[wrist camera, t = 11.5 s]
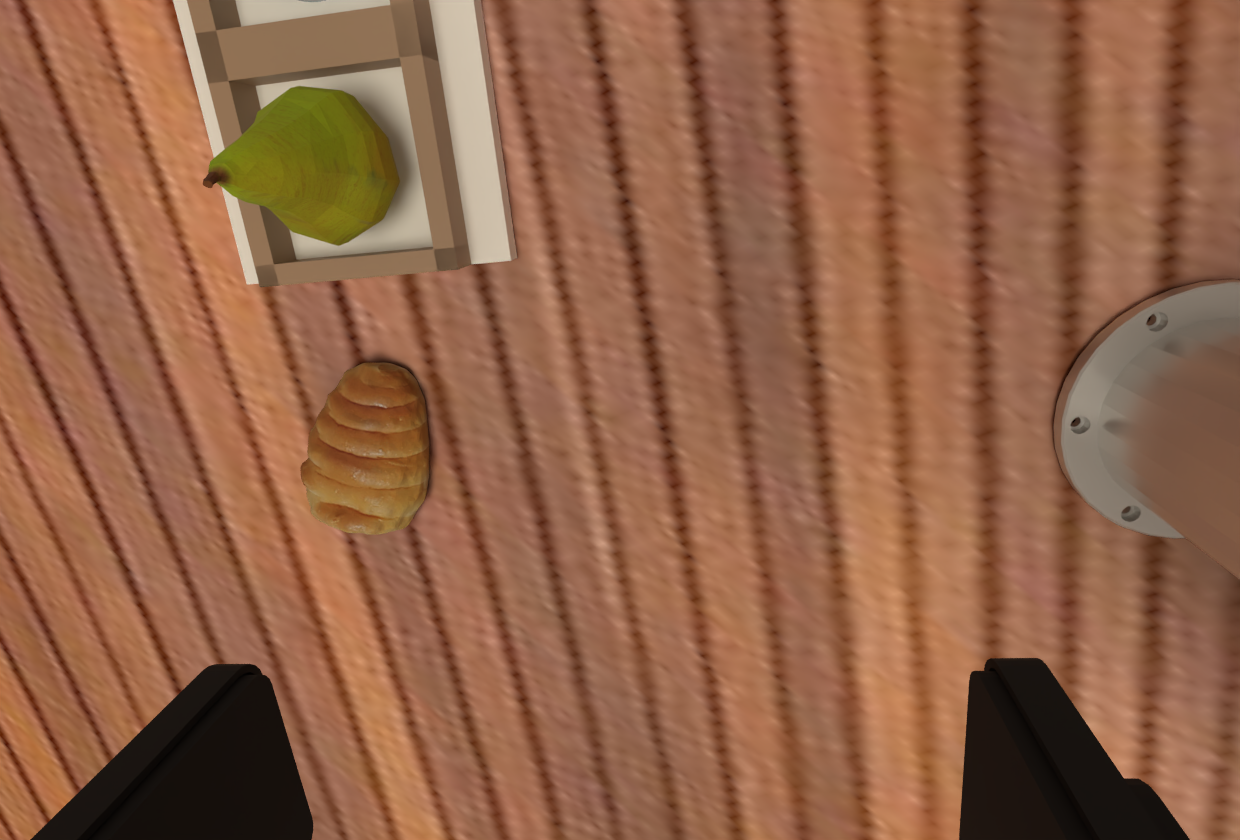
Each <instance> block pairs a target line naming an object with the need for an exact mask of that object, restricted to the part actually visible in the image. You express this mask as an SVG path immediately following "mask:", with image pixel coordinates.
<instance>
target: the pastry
mask: <svg viewBox="0 0 1240 840" xmlns="http://www.w3.org/2000/svg"><path fill="white" fill-rule="evenodd" d="M307 452H308V456H309V458H308V459H307V460H306V461H305V462H304V463H303V464H302V465H301V479H302V482H303V484H304V485H305V486H306V487H307V488H306V490H307V498H308V501H309V504H310V506H311V513H312V515H314V517H315V518H316V519H317V520H319V521H321V522H323V523H325V524H327V525H328V526H331V527H333V528H336V529H339V530H342V531H345V532H347V533H365V534H368V535H372V534H384V533H388V532H391V531H395V530H400V529H404V528H405V527H406V526H408V525H409V524H410V522H411V520H412V518H413V517H414V515H415V513H416V511H417V510H418V508H419V507H420V506H421V504H422V503H423V502H424V500H425V497H426V494H427V486H428V480H429V475H430V473H429V437H428V426H427V415H426V405H425V399H424V397H423V394H422V392H421V390H420V388H419V385H418V382H417V380H416V379H415V377H414V376H413V375H412V374H411V373H410V372H409V371H408V370H406V369H405V368H402V367H399V366H397V365H394V364H391V363H385V362H384V363H370V362H366V363H362V364H360V365H358V366H356V367H354V368H352V369H349V370H347V371H346V372H345V373H344V375H343V377H342V379H341V380H340V382H339V384H338V386H337V387H336V388H335V390H333V391H332V392H331V393H330V394H329V395H328V399H327V401H326V404H325V407H324V408H323V409H322V411H321V412H320V414H319V415H318V417H317V420H316V424H315V426H314V427H313V428H312V429H311V432H310V433H309V440H308V451H307Z"/></svg>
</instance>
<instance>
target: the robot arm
mask: <svg viewBox="0 0 1240 840" xmlns="http://www.w3.org/2000/svg"><path fill="white" fill-rule="evenodd" d="M1150 316H1151V319H1150V321H1149V322H1147V320H1148V318H1149V317H1150ZM1146 322H1147V323H1146ZM1075 418H1076V421H1075V422H1074V423H1071V422H1072V421H1073V420H1074V419H1075ZM1053 428H1054V442H1055V450H1056V453H1057V457H1058V460H1059V463H1060V466H1061V469H1062V471H1063V473H1064V474H1065V476H1066V478H1067V480H1068V481H1069V483H1070V485H1071V486H1072V488H1073V489H1074V490H1075V491H1076V492H1077V493H1078V494H1079V495H1080V496H1081V497H1082V498H1083V499H1084V500H1085V502H1086V503H1087V504H1089V505H1090V506H1091V507H1092V508H1094V509H1095V510H1096V511H1097V512H1099V513H1100V514H1101V515H1102V516H1103V517H1105V518H1107V519H1108V520H1110V521H1112V522H1114V523H1115V524H1117V525H1119V526H1121V527H1123V528H1126V529H1129V530H1132V531H1136V532H1139V533H1142V534H1145V535H1149V536H1156V537H1164V538H1172V539H1181V538H1186V539H1188V540H1189V541H1190V542H1191V543H1193V544H1194V545H1195V546H1197V547H1198V548H1199V549H1201V550H1202V551H1203V552H1204V553H1206V554H1207V555H1208V556H1210V557H1211V558H1212V559H1213V560H1215V561H1216V562H1217V563H1219V564H1220V565H1221V566H1223V567H1224V568H1225V569H1226V570H1228V571H1229V572H1230V573H1232V574H1233V575H1234V576H1236V577H1237V578H1238V579H1239V580H1240V280H1234V279H1229V280H1216V281H1202V282H1198V283H1194V284H1190V285H1186V286H1182V287H1178V288H1174V289H1171V290H1169V291H1166V292H1164V293H1161V294H1159V295H1157V296H1154V297H1152V298H1149V299H1147V300H1145V301H1143V302H1142V303H1140V304H1138V305H1137V306H1135V307H1133V308H1132V309H1130V310H1128V311H1127V312H1125V313H1124V314H1122V315H1120V316H1119V317H1118V318H1116V319H1115V320H1114V321H1113V322H1112V323H1111V324H1109V325H1108V326H1107V327H1106V328H1105V329H1104V330H1102V331H1101V332H1100V333H1099V334H1098V335H1097V336H1096V337H1095V338H1094V339H1093V340H1092V342H1091V343H1090V344H1089V345H1088V346H1087V347H1086V349H1085V350H1084V351H1083V352H1082V353H1081V354H1080V356H1079V357H1078V359H1077V360H1076V362H1075V364H1074V365H1073V367H1072V369H1071V371H1070V372H1069V374H1068V376H1067V377H1066V379H1065V382H1064V384H1063V387H1062V390H1061V393H1060V395H1059V398H1058V401H1057V405H1056V412H1055V418H1054V425H1053ZM312 834H313V820H312V816H311V812H310V809H309V806H308V802H307V799H306V796H305V792H304V789H303V786H302V782H301V779H300V776H299V773H298V769H297V766H296V763H295V759H294V756H293V753H292V749H291V746H290V743H289V739H288V736H287V733H286V729H285V726H284V723H283V719H282V716H281V713H280V710H279V706H278V703H277V700H276V696H275V693H274V690H273V686H272V683H271V681H270V679H269V678H268V677H267V676H265V675H262V673H261V671H260V669H259V668H258V667H257V666H255V665H252V664H215V665H211V666H208V667H207V668H206V669H204V670H203V671H202V672H201V673H200V674H199V675H198V676H197V677H196V678H195V679H194V680H193V681H192V682H191V683H190V684H189V685H188V686H187V687H186V688H185V689H184V690H182V691H181V692H180V693H179V694H178V695H177V696H176V697H175V698H174V699H173V700H172V701H171V702H170V703H169V704H168V705H167V706H166V707H165V708H164V709H163V710H162V711H161V712H160V713H159V714H158V715H157V716H156V717H155V718H154V719H153V720H152V721H151V722H150V723H149V724H148V725H147V726H146V727H145V728H144V729H143V730H142V731H141V732H140V733H139V734H138V735H137V736H136V737H135V738H134V739H133V740H132V741H131V742H130V743H129V744H128V745H127V746H125V747H124V748H123V749H122V750H121V751H120V752H119V753H118V754H117V755H116V756H115V757H114V758H113V759H112V760H111V761H110V762H109V763H108V764H107V765H106V766H105V767H104V768H103V769H102V770H101V771H100V772H99V773H98V774H97V775H96V776H95V777H94V778H93V779H92V780H91V781H90V782H89V783H88V784H87V785H86V786H85V787H84V788H83V789H82V790H81V791H80V792H79V793H78V794H77V795H76V796H75V797H74V798H73V799H72V800H71V801H69V802H68V803H67V804H66V805H65V806H64V807H63V808H62V809H61V810H60V811H59V812H58V813H57V814H56V815H55V816H54V817H53V818H52V819H51V820H50V821H49V822H48V823H47V824H46V825H45V826H44V827H43V828H42V829H41V830H40V831H39V832H38V833H37V834H36V835H35V836H34V837H33V838H32V839H31V840H311V839H312ZM959 840H1190V839H1189V838H1188V836H1187V835H1186V834H1185V832H1184V831H1183V829H1182V828H1181V827H1180V825H1179V824H1178V822H1177V821H1176V820H1175V818H1174V817H1173V815H1172V814H1171V813H1170V811H1169V810H1168V808H1167V807H1166V806H1165V804H1164V803H1163V802H1162V800H1161V799H1160V797H1159V796H1158V795H1157V794H1156V793H1155V792H1154V791H1153V789H1152V788H1151V787H1150V786H1149V785H1148V784H1146V783H1145V782H1143V781H1141V780H1140V779H1124V778H1123V777H1122V775H1121V774H1120V772H1119V771H1118V769H1117V768H1116V766H1115V765H1114V763H1113V762H1112V761H1111V759H1110V758H1109V756H1108V755H1107V753H1106V752H1105V750H1104V749H1103V747H1102V746H1101V744H1100V743H1099V741H1098V740H1097V739H1096V737H1095V736H1094V734H1093V733H1092V731H1091V730H1090V728H1089V727H1088V725H1087V724H1086V722H1085V721H1084V719H1083V718H1082V717H1081V715H1080V714H1079V712H1078V711H1077V709H1076V708H1075V706H1074V705H1073V703H1072V702H1071V700H1070V699H1069V697H1068V696H1067V694H1066V693H1065V692H1064V690H1063V689H1062V687H1061V686H1060V684H1059V683H1058V681H1057V680H1056V678H1055V677H1054V675H1053V674H1052V672H1051V671H1050V670H1049V668H1048V667H1047V665H1046V664H1045V663H1044V662H1043V661H1042V660H1040V659H1038V658H991V659H989V660H987V662H986V664H985V668H984V671H973V672H972V673H971V675H970V680H969V694H968V710H967V725H966V741H965V756H964V772H963V787H962V803H961V818H960V833H959Z"/></svg>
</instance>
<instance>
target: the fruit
mask: <svg viewBox="0 0 1240 840" xmlns="http://www.w3.org/2000/svg"><path fill="white" fill-rule="evenodd" d="M215 183H218V184H219V185H220V186H221V187H223V188H224V189H225V190H226V191H227V192H229V193H230V194H231V195H232V196H234V197H236V198H238V199H240V200H242V201H244V202H247V203H251V204H256V205H260V206H265V207H267V208H268V209H270V210H271V211H272V212H273V213H274V214H275V215H276V216H277V217H278V218H279V219H280V220H281V221H282V222H283V223H284V224H285V225H286V226H287V227H288V228H289V229H290V230H291V231H292V232H294V233H297V234H301V235H304V236H307V237H310V238H314V239H317V240H320V241H323V242H326V243H330V244H333V245H337V246H340V245H343V244H345V243H348V242H349V241H351V240H353V239H354V238H356V237H357V236H359V235H360V234H362V233H363V232H365V231H366V230H368V229H370V228H371V227H373V226H374V225H376V224H377V223H379V222H380V221H382V220H383V219H384V217H385V215H386V213H387V211H388V208H389V206H390V204H391V202H392V199H393V197H394V195H395V192H396V190H397V188H398V186H399V183H400V179H399V175H398V171H397V168H396V164H395V160H394V157H393V153H392V150H391V146H390V142H389V139H388V137H387V136H386V135H385V133H384V132H383V131H382V130H381V128H380V127H379V126H378V125H377V124H376V122H375V121H374V120H373V119H372V118H371V116H370V115H369V114H368V113H367V111H366V110H365V109H364V108H363V107H362V105H361V104H360V103H359V102H358V101H357V99H356V98H355V97H354V96H352V95H350V94H348V93H346V92H344V91H342V90H333V89H323V88H314V87H305V86H296V87H292V88H290V89H288V90H287V91H286V92H284V93H283V94H282V95H280V96H279V97H277V98H276V99H275V100H273V101H272V102H271V103H269V104H268V105H266V106H265V107H264V108H262V109H261V110H260V111H258V112H257V115H256V119H255V122H254V123H253V124H252V125H251V126H250V127H249V128H248V129H247V130H246V131H245V132H244V133H243V134H242V135H241V136H240V137H239V138H238V139H237V140H236V141H235V142H233V143H232V144H231V145H229V146H228V147H227V148H226V149H224V150H223V151H222V152H221V153H219V154H218V155H217V156H216V157H215V158H214V159H213V160H212V161H211V162H210V165H209V174H208V175H207V177H206V178H205V179H204V181H203V185H204V186H206V187H208V188H212V186H213V184H215Z"/></svg>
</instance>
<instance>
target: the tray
mask: <svg viewBox="0 0 1240 840" xmlns="http://www.w3.org/2000/svg"><path fill="white" fill-rule="evenodd" d="M173 2H174V6H175V9H176V13H177V17H178V21H179V25H180V29H181V33H182V36H183V40H184V44H185V48H186V52H187V56H188V59H189V63H190V67H191V71H192V75H193V79H194V83H195V86H196V90H197V94H198V98H199V102H200V106H201V109H202V113H203V117H204V121H205V125H206V129H207V133H208V136H209V140H210V144H211V148H212V152H213V156H214V158H215V157H216V156H217V155H218V154H219V153H221V152H222V151H223V150H224V149H226V148H227V147H228V146H229V145H231V144H232V143H233V142H235V141H236V140H237V139H238V138H239V137H240V136H241V135H242V134H243V133H244V132H245V131H246V130H247V129H248V128H249V127H250V126H251V125H252V124H253V123H254V122H255V119H256V115H257V112H258V111H260V110H261V109H262V108H264V107H265V106H266V105H268V104H269V103H271V102H272V101H273V100H275V99H276V98H277V97H279V96H280V95H282V94H283V93H284V92H286V91H287V90H288V89H290V88H292V87H296V86H305V87H314V88H323V89H333V90H342V91H344V92H346V93H348V94H350V95H352V96H354V97H355V98H356V99H357V101H358V102H359V103H360V104H361V105H362V107H363V108H364V109H365V110H366V111H367V113H368V114H369V115H370V116H371V118H372V119H373V120H374V121H375V122H376V124H377V125H378V126H379V127H380V128H381V130H382V131H383V132H384V133H385V135H386V136H387V137H388V139H389V142H390V146H391V150H392V153H393V157H394V160H395V164H396V168H397V171H398V175H399V179H400V183H399V186H398V188H397V190H396V192H395V195H394V197H393V199H392V202H391V204H390V206H389V208H388V211H387V213H386V215H385V217H384V219H383V220H382V221H380V222H379V223H377V224H376V225H374V226H373V227H371V228H370V229H368V230H366V231H365V232H363V233H362V234H360V235H359V236H357V237H356V238H354V239H353V240H351V241H349V242H348V243H345V244H343V245H340V246H337V245H333V244H330V243H326V242H323V241H320V240H317V239H314V238H310V237H307V236H304V235H301V234H297V233H294V232H292V231H291V230H290V229H289V228H288V227H287V226H286V225H285V224H284V223H283V222H282V221H281V220H280V219H279V218H278V217H277V216H276V215H275V214H274V213H273V212H272V211H271V210H270V209H268V208H267V207H265V206H260V205H256V204H251V203H247V202H244V201H242V200H240V199H238V198H236V197H234V196H232V195H231V194H230V193H229V192H227V191H226V190H225V189H224V188H223V187H222V190H223V194H224V198H225V202H226V206H227V209H228V213H229V217H230V221H231V225H232V229H233V233H234V236H235V240H236V244H237V248H238V252H239V256H240V259H241V263H242V267H243V271H244V275H245V279H246V282H247V284H258V283H259V286H260V287H268V286H279V285H290V284H301V283H312V282H323V281H335V280H346V279H357V278H368V277H379V276H390V275H402V274H413V273H424V272H435V271H446V270H458V269H460V268H463V267H466V266H468V265H471V264H480V263H491V262H502V261H511V260H514V259H516V258H517V252H516V245H515V238H514V231H513V224H512V217H511V210H510V203H509V196H508V189H507V182H506V174H505V167H504V160H503V153H502V146H501V139H500V132H499V125H498V118H497V111H496V104H495V96H494V89H493V82H492V75H491V68H490V61H489V54H488V47H487V40H486V33H485V26H484V19H483V11H482V4H481V0H326V1H321V2H303V1H299V0H173Z"/></svg>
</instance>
